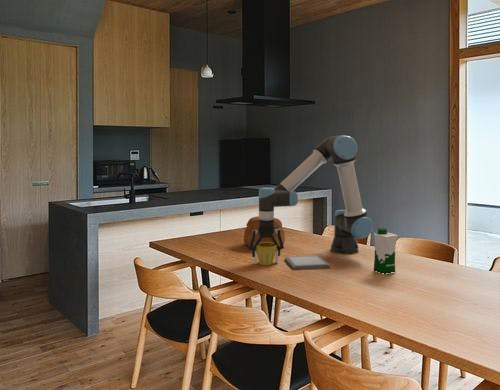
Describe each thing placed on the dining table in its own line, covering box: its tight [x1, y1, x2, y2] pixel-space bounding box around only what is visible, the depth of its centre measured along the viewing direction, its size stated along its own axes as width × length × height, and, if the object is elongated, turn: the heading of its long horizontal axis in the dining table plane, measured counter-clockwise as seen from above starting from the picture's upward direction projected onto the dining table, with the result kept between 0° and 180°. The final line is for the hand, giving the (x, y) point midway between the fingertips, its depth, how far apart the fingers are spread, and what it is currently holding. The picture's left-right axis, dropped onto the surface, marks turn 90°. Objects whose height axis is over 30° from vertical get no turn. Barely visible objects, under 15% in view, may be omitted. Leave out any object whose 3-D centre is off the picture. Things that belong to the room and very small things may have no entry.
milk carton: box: [373, 227, 398, 274], centre depth 207 cm, size 9×9×20 cm
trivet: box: [284, 255, 331, 270], centre depth 223 cm, size 18×18×2 cm
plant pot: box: [255, 242, 277, 266], centre depth 223 cm, size 10×10×10 cm
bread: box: [243, 215, 286, 247], centre depth 261 cm, size 18×21×17 cm
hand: (266, 262), depth 223 cm, fingers closed on plant pot, 10 cm apart
